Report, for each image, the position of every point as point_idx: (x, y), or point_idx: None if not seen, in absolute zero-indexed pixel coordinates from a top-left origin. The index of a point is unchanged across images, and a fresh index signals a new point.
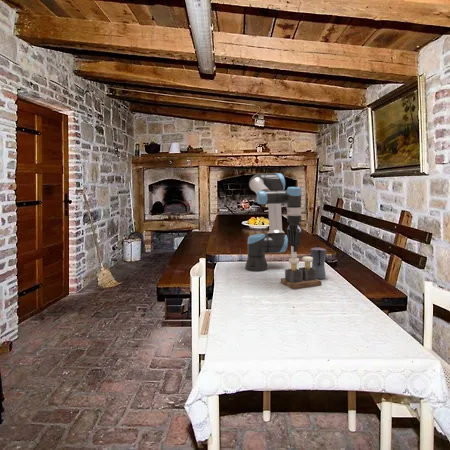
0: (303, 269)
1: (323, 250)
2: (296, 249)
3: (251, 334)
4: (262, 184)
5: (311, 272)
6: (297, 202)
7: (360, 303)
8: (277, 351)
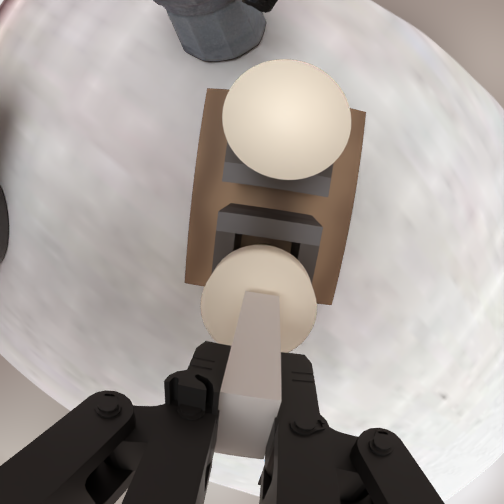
0: (287, 185)
1: None
2: (312, 386)
3: (438, 482)
4: None
5: None
6: None
7: None
8: (485, 463)
